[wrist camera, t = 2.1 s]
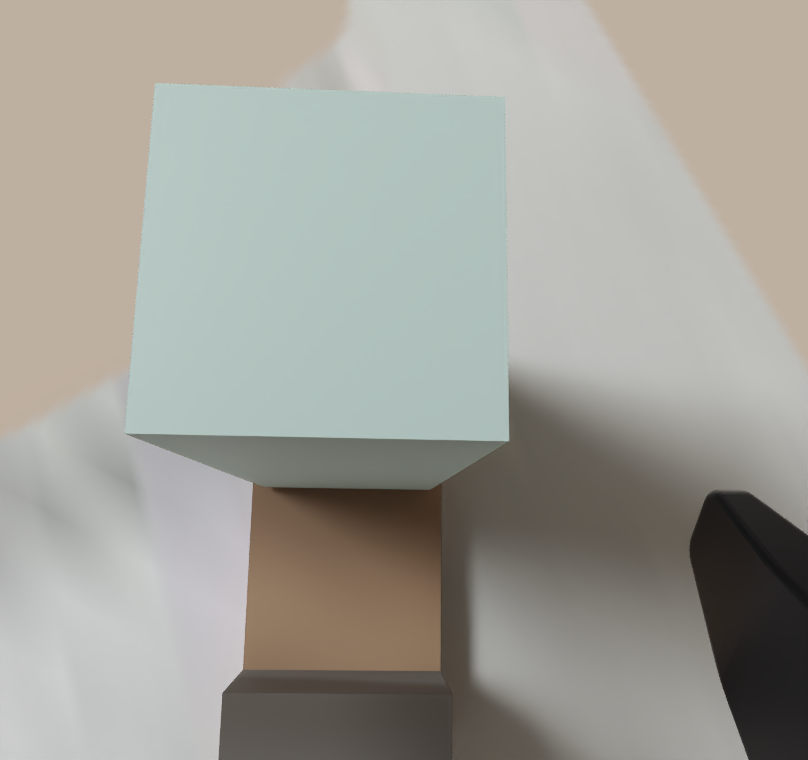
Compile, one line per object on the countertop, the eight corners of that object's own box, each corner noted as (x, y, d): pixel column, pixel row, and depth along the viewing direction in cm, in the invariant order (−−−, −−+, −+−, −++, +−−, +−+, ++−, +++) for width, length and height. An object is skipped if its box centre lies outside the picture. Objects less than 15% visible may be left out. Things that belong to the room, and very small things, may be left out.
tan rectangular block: (436, 741, 18) (451, 791, 15) (245, 740, 18) (216, 790, 15) (438, 335, 20) (453, 296, 17) (267, 330, 20) (246, 290, 17)
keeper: (429, 489, 18) (509, 440, 8) (264, 487, 18) (123, 434, 8) (431, 330, 19) (505, 96, 9) (272, 326, 19) (155, 82, 8)
